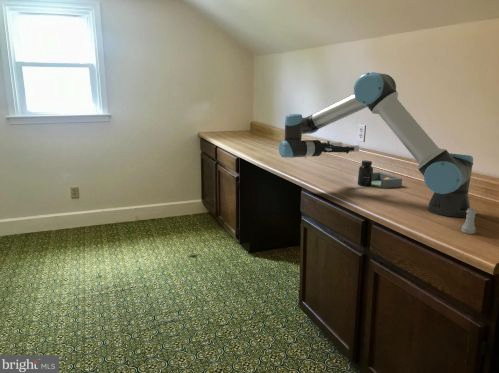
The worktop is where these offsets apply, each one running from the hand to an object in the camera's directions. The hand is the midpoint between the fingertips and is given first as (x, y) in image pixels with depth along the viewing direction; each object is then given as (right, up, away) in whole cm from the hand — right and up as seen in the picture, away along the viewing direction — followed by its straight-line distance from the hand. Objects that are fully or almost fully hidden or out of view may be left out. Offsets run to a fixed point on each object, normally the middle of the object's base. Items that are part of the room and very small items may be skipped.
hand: (349, 146), depth 197 cm
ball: (+18, -17, +6) cm, 26 cm away
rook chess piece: (+26, -35, -59) cm, 73 cm away
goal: (+18, -18, +11) cm, 27 cm away
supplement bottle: (+9, -19, +8) cm, 22 cm away
